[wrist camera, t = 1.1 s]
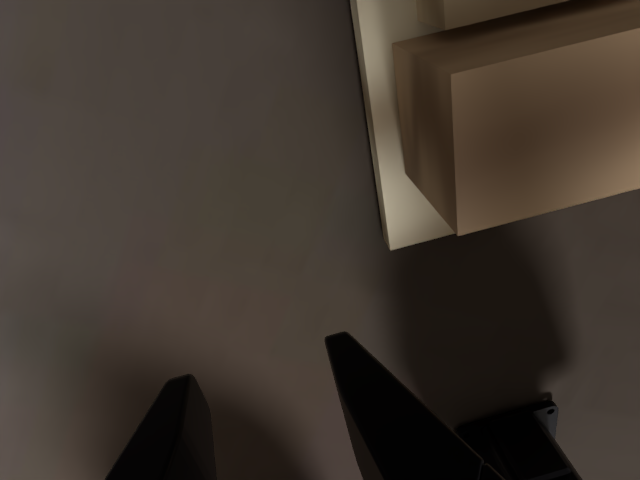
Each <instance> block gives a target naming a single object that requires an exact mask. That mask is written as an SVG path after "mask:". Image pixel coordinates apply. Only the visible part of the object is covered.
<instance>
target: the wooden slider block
mask: <svg viewBox="0 0 640 480" xmlns="http://www.w3.org/2000/svg"><path fill="white" fill-rule="evenodd" d="M392 49H393V59H394V69H395V78H396V88H397V97H398V107H399V116H400V126H401V136H402V145H403V155H404V164H405V174H406V175H407V176H408V177H409V179H410V180H411V181H412V182H413V183H414V185H415V186H416V187H417V188H418V189H419V191H420V192H421V193H422V194H423V195H424V197H425V198H426V199H427V200H428V201H429V202H430V204H431V205H432V206H433V207H434V208H435V210H436V211H437V212H438V213H439V214H440V216H441V217H442V218H443V219H444V220H445V222H446V223H447V224H448V225H449V226H450V228H451V229H452V230H453V231H454V232H455V233H456V235H457V236H461V235H465V234H468V233H472V232H476V231H480V230H483V229H487V228H491V227H495V226H499V225H502V224H506V223H510V222H514V221H517V220H521V219H525V218H529V217H533V216H536V215H540V214H544V213H548V212H551V211H555V210H559V209H563V208H566V207H570V206H574V205H578V204H582V203H585V202H589V201H593V200H597V199H600V198H604V197H608V196H612V195H616V194H619V193H623V192H627V191H631V190H634V189H638V188H640V0H569V1H565V2H561V3H557V4H552V5H548V6H544V7H540V8H536V9H532V10H528V11H523V12H519V13H515V14H511V15H507V16H503V17H499V18H494V19H490V20H486V21H482V22H478V23H474V24H470V25H465V26H461V27H457V28H453V29H449V30H444V31H440V32H436V33H432V34H428V35H424V36H419V37H415V38H411V39H407V40H403V41H399V42H395V43H392Z"/></svg>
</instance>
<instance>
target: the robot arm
mask: <svg viewBox="0 0 640 480" xmlns="http://www.w3.org/2000/svg"><path fill="white" fill-rule="evenodd" d="M325 345H326V349H327V353H328V357H329V361H330V364H331V368H332V372H333V376H334V380H335V384H336V387H337V391H338V395H339V398H340V402H341V406H342V410H343V413H344V417H345V421H346V425H347V428H348V432H349V436H350V440H351V443H352V447H353V451H354V454H355V457H356V461H357V464H358V466H359V469H360V472H361V474H362V477H363V480H582V478H581V477H580V476H579V474H578V473H577V471H576V470H575V468H574V467H573V465H572V464H571V462H570V461H569V460H568V458H567V457H566V455H565V454H564V452H563V451H562V449H561V448H560V446H559V445H558V444H557V442H556V441H555V434H556V426H557V417H558V407H557V406H556V404H555V403H554V402H553V401H547V402H544V403H540V404H537V405H533V406H530V407H526V408H523V409H519V410H516V411H512V412H509V413H505V414H502V415H498V416H495V417H491V418H488V419H484V420H481V421H477V422H474V423H470V424H467V425H463V426H461V427H459V428H458V429H457V431H456V433H455V432H454V431H453V430H451V429H450V428H449V427H448V426H447V425H446V424H445V423H444V422H443V421H442V420H441V419H440V418H439V417H438V416H437V415H435V414H434V413H433V412H432V411H431V410H430V409H429V408H428V407H427V406H426V405H425V404H424V403H423V402H422V401H421V400H420V399H418V398H417V397H416V396H415V395H414V394H413V393H412V392H411V391H410V390H409V389H408V388H407V387H406V386H405V385H404V384H402V383H401V382H400V381H399V380H398V379H397V378H396V377H395V376H394V375H393V374H392V373H391V372H390V371H389V370H388V369H386V368H385V367H384V366H383V365H382V364H381V363H380V362H379V361H378V360H377V359H376V358H375V357H374V356H373V355H372V354H371V353H369V352H368V351H367V350H366V349H365V348H364V347H363V346H362V345H361V344H360V343H359V342H358V341H357V340H356V339H355V338H353V337H352V336H351V335H350V334H349V333H348V332H340V333H336V334H333V335H329V336H326V337H325ZM105 480H217V477H216V467H215V456H214V445H213V435H212V424H211V415H210V410H209V406H208V404H207V401H206V399H205V397H204V395H203V393H202V391H201V389H200V387H199V385H198V383H197V381H196V379H195V377H194V376H193V375H191V374H186V375H183V376H179V377H175V378H172V379H170V380H168V381H167V382H166V383H165V385H164V386H163V388H162V390H161V391H160V393H159V394H158V396H157V398H156V399H155V401H154V402H153V404H152V405H151V407H150V409H149V410H148V412H147V413H146V415H145V417H144V418H143V420H142V421H141V423H140V424H139V426H138V428H137V429H136V431H135V432H134V434H133V435H132V437H131V439H130V440H129V442H128V443H127V445H126V447H125V448H124V450H123V451H122V453H121V454H120V456H119V458H118V459H117V461H116V462H115V464H114V465H113V467H112V469H111V470H110V472H109V473H108V475H107V477H106V478H105Z"/></svg>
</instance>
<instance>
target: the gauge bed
mask: <svg viewBox="0 0 640 480" xmlns="http://www.w3.org/2000/svg"><path fill="white" fill-rule="evenodd" d="M565 1H569V0H350V5H351V12H352V19H353V26H354V33H355V40H356V47H357V54H358V61H359V68H360V75H361V82H362V89H363V96H364V103H365V110H366V117H367V124H368V131H369V138H370V145H371V152H372V160H373V167H374V174H375V181H376V188H377V195H378V202H379V209H380V216H381V223H382V230H383V237H384V240H385V242H386V244H387V245H388V247H389V249H390V251H391V250H394V249H398V248H402V247H406V246H409V245H413V244H417V243H421V242H425V241H428V240H432V239H436V238H440V237H443V236H447V235H451V234H455V232H454V231H453V230H452V229H451V228H450V226H449V225H448V224H447V223H446V222H445V220H444V219H443V218H442V217H441V216H440V214H439V213H438V212H437V211H436V210H435V208H434V207H433V206H432V205H431V204H430V202H429V201H428V200H427V199H426V198H425V197H424V195H423V194H422V193H421V192H420V191H419V189H418V188H417V187H416V186H415V185H414V183H413V182H412V181H411V180H410V179H409V177H408V176H407V175H406V174H405V164H404V155H403V145H402V136H401V126H400V116H399V107H398V97H397V88H396V78H395V69H394V59H393V49H392V43H395V42H399V41H403V40H407V39H411V38H415V37H419V36H424V35H428V34H432V33H436V32H440V31H444V30H449V29H453V28H457V27H461V26H465V25H470V24H474V23H478V22H482V21H486V20H490V19H494V18H499V17H503V16H507V15H511V14H515V13H519V12H523V11H528V10H532V9H536V8H540V7H544V6H548V5H552V4H557V3H561V2H565Z"/></svg>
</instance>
